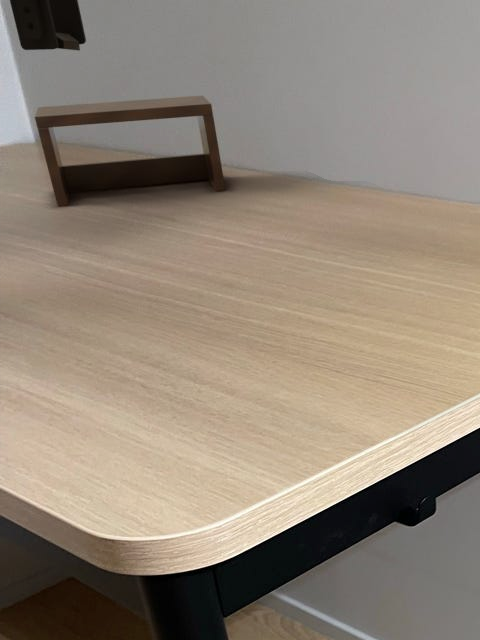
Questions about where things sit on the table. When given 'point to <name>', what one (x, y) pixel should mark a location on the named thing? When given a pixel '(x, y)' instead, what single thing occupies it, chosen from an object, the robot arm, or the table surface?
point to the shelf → (136, 169)
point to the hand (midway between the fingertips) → (54, 44)
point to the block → (67, 42)
